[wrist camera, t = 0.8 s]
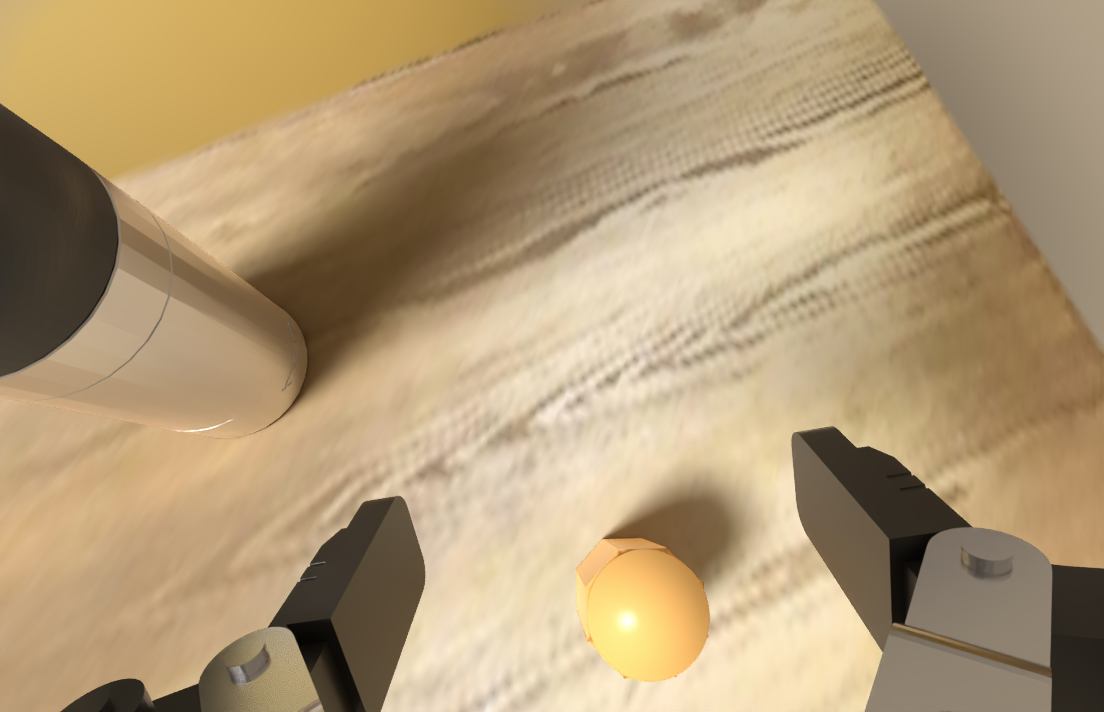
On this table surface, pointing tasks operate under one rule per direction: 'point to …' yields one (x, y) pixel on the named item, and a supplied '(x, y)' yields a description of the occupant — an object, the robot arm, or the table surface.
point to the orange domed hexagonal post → (642, 608)
